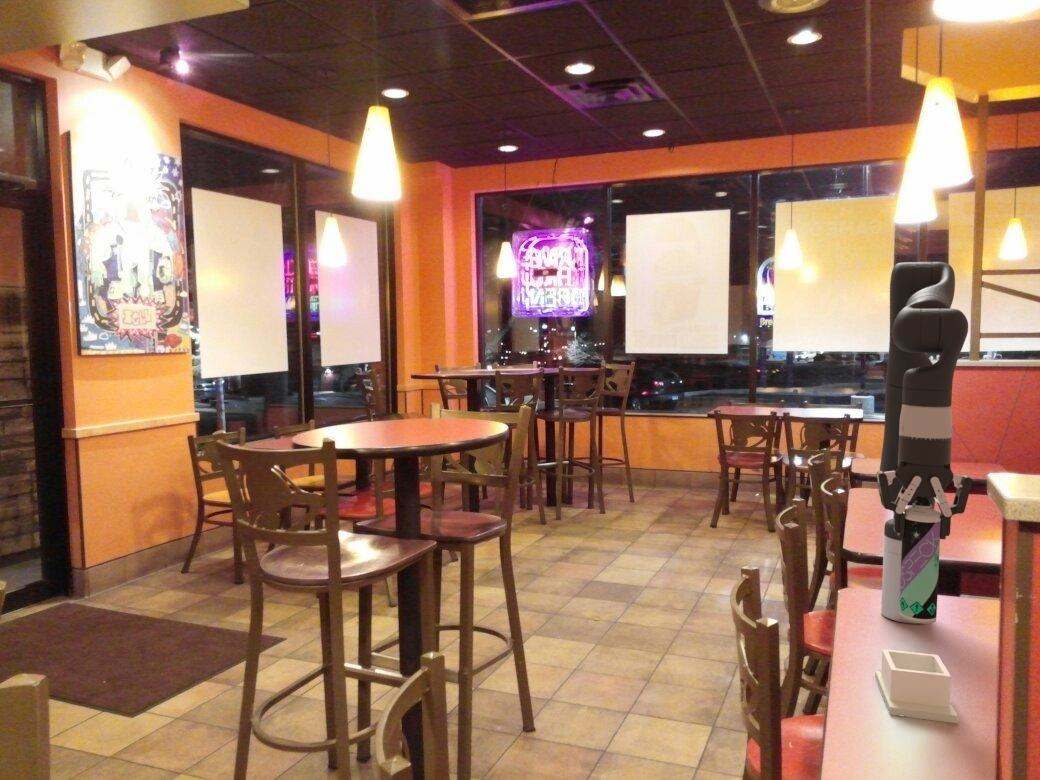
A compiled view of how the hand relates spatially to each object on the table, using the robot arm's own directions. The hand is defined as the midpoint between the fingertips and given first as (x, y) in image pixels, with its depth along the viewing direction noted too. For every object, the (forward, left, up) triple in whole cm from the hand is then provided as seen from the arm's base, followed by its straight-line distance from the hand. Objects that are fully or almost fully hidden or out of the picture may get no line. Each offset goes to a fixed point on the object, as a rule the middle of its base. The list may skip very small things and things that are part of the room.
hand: (920, 536), depth 126 cm
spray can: (0, 0, -14) cm, 14 cm away
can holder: (0, 0, -27) cm, 27 cm away
